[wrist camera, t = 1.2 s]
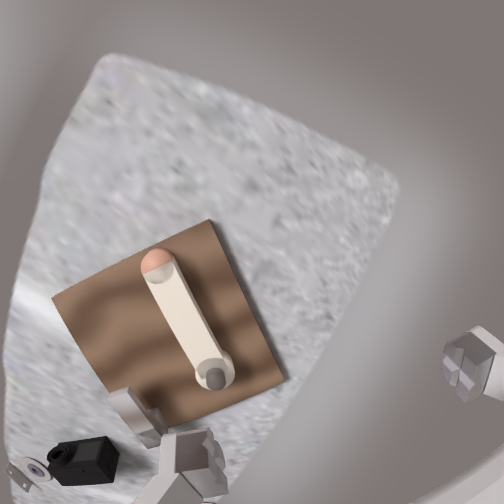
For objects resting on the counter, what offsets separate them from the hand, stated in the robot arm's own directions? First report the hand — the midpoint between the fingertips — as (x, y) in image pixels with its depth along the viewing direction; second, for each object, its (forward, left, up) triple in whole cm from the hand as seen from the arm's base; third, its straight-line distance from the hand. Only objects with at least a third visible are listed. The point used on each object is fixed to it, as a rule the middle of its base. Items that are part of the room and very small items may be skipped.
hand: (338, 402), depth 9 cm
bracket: (-21, +54, -30) cm, 65 cm away
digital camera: (-18, +35, -30) cm, 50 cm away
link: (-5, +8, -28) cm, 29 cm away
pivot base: (-7, +12, -29) cm, 33 cm away
